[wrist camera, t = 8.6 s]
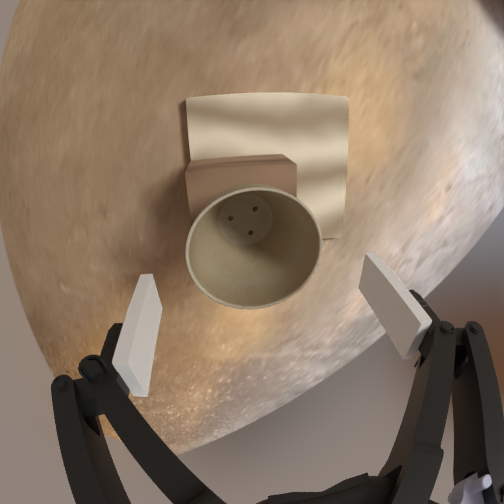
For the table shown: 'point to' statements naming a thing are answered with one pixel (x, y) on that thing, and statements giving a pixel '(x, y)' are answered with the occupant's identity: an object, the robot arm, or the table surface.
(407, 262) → the table surface
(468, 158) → the table surface
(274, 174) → the pedestal
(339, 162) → the board
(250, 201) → the flower pot
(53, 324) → the table surface
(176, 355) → the table surface
